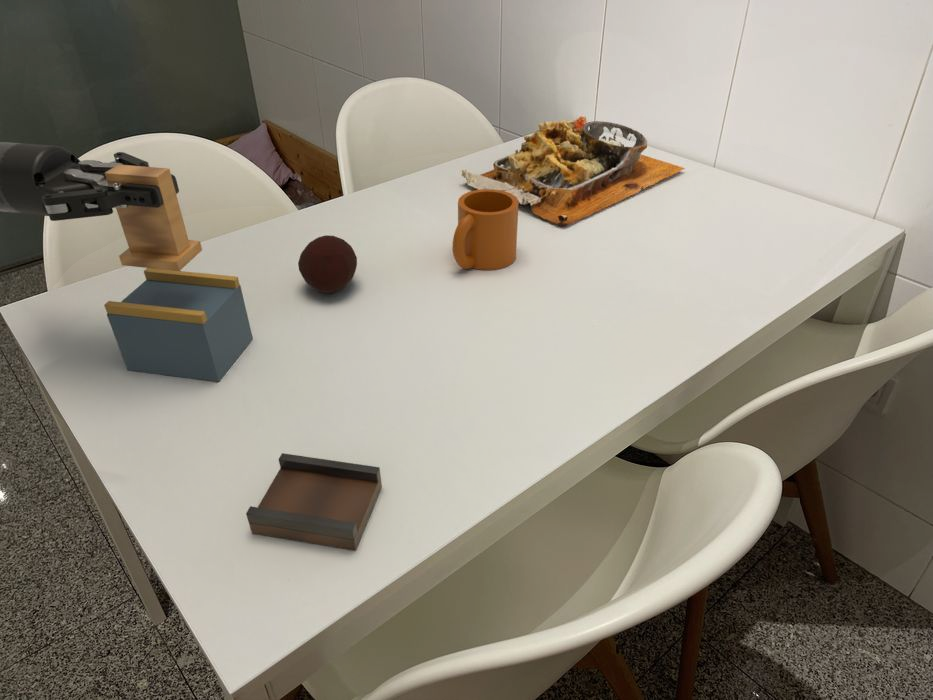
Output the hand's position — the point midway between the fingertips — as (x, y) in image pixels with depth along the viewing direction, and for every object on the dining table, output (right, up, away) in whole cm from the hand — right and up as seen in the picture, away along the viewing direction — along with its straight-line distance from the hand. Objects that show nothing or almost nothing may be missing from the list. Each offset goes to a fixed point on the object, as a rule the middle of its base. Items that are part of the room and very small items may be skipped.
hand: (167, 190), depth 73 cm
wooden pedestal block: (-3, -6, +5) cm, 9 cm away
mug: (+33, -3, +32) cm, 46 cm away
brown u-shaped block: (+17, -32, -7) cm, 37 cm away
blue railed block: (-3, -17, +13) cm, 22 cm away
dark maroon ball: (+12, -8, +26) cm, 30 cm away
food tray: (+51, +15, +57) cm, 78 cm away
